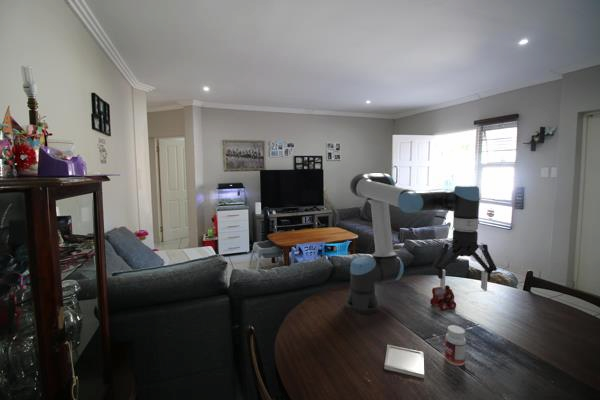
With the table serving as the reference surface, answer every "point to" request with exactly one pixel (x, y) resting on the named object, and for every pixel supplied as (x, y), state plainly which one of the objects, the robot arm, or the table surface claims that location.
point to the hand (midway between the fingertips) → (462, 288)
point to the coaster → (404, 361)
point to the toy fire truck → (443, 298)
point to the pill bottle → (455, 345)
